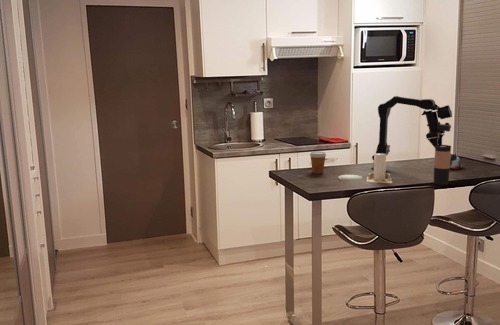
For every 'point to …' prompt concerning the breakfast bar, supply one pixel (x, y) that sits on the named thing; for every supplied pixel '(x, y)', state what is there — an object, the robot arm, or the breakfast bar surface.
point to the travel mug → (442, 164)
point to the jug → (379, 166)
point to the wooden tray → (387, 180)
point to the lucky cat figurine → (455, 161)
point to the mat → (349, 177)
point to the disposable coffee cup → (317, 162)
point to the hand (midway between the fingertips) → (439, 148)
